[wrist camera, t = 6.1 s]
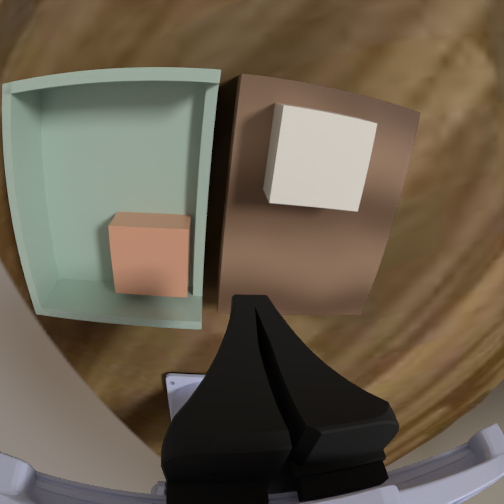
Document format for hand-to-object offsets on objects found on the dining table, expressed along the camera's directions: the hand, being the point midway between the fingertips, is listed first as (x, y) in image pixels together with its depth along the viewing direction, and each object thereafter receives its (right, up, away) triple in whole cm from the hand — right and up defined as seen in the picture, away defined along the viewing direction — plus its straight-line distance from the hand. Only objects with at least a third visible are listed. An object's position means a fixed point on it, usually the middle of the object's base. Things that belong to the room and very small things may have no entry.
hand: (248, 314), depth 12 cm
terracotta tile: (-6, +3, +7) cm, 9 cm away
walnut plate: (+3, +6, +7) cm, 10 cm away
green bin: (-8, +6, +5) cm, 11 cm away
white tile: (+3, +8, +3) cm, 9 cm away
